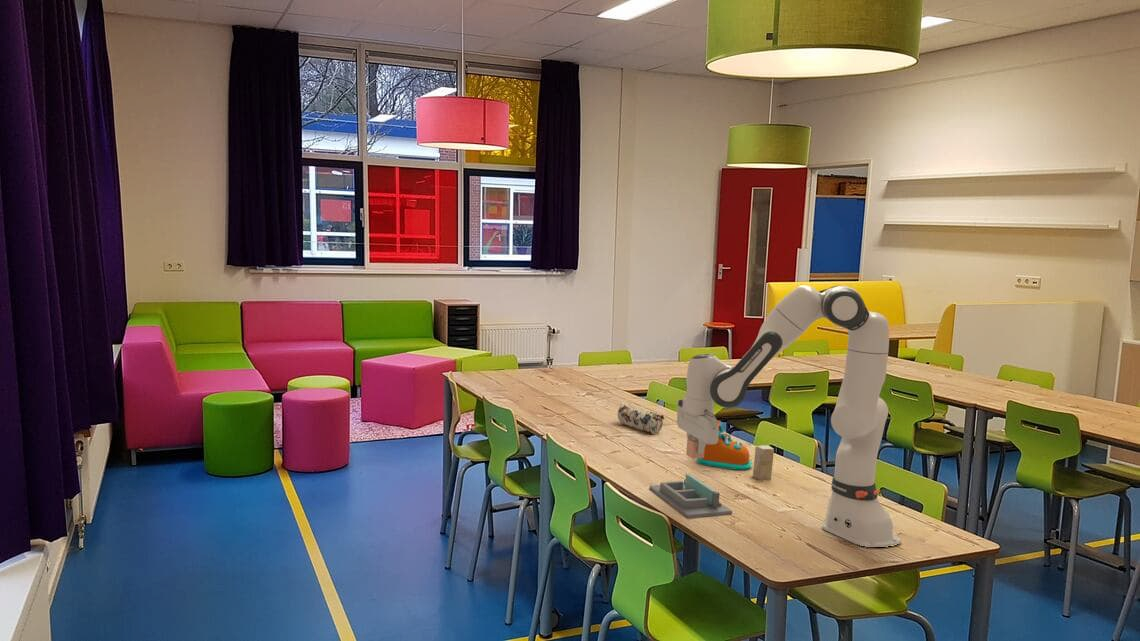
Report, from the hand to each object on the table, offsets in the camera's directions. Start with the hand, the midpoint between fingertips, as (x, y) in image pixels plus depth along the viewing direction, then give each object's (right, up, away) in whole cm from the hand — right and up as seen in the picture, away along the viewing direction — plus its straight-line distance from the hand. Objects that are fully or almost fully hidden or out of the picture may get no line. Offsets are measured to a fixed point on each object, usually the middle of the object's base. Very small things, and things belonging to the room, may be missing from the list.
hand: (695, 450), depth 240 cm
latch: (+2, -15, +7) cm, 17 cm away
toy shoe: (+18, -13, +46) cm, 51 cm away
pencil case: (-9, -6, +90) cm, 90 cm away
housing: (-1, -17, +5) cm, 18 cm away
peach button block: (0, -2, 0) cm, 2 cm away
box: (+28, -15, +32) cm, 46 cm away
